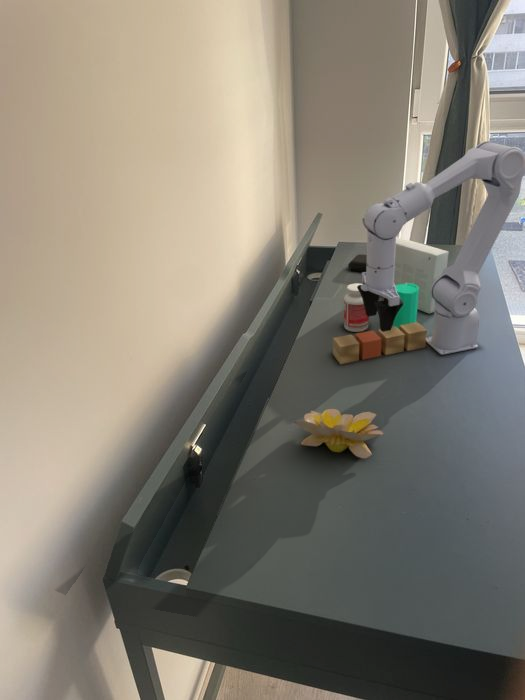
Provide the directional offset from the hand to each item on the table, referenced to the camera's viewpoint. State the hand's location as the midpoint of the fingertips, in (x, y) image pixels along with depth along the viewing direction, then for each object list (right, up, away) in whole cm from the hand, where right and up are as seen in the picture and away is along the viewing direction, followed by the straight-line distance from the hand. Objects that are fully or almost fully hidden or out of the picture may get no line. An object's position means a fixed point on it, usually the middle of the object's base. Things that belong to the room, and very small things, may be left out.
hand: (378, 322), depth 116 cm
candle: (+10, 0, +17) cm, 19 cm away
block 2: (+4, -6, +7) cm, 10 cm away
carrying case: (+10, +20, +51) cm, 56 cm away
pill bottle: (-2, 0, +18) cm, 18 cm away
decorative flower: (-11, -23, -20) cm, 33 cm away
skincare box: (+14, +8, +30) cm, 34 cm away
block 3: (+10, -5, +8) cm, 14 cm away
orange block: (-1, -7, +6) cm, 9 cm away
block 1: (-6, -8, +5) cm, 11 cm away
